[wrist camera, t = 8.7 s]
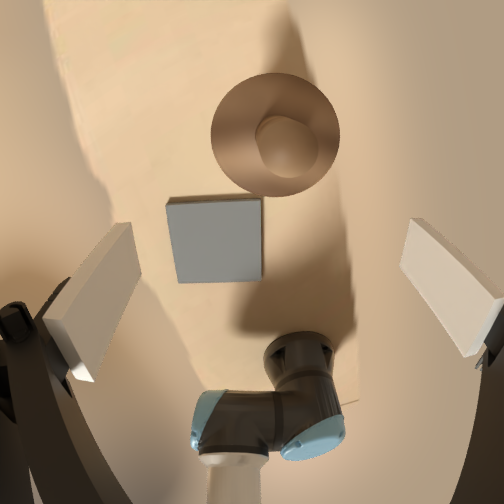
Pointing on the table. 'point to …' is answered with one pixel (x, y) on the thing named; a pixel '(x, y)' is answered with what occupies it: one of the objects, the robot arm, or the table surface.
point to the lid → (275, 135)
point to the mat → (216, 240)
